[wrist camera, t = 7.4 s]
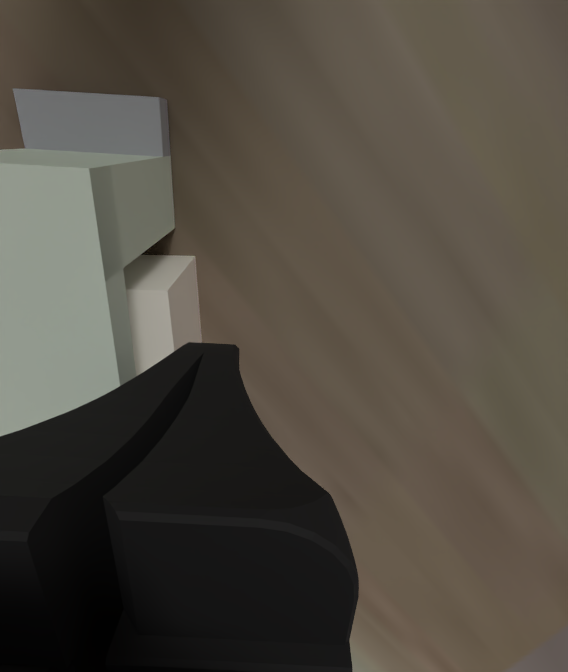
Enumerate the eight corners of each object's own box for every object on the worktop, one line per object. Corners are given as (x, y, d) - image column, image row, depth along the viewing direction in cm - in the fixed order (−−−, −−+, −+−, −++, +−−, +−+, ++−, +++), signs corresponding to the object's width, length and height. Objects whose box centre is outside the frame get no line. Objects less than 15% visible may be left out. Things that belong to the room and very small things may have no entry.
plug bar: (203, 357, 16) (181, 413, 13) (-54, 351, 16) (-140, 405, 13) (195, 255, 14) (167, 290, 11) (-94, 248, 14) (-206, 281, 11)
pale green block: (188, 446, 18) (146, 570, 13) (95, 441, 18) (16, 563, 13) (167, 99, 12) (75, 73, 7) (29, 91, 12) (-162, 58, 7)
